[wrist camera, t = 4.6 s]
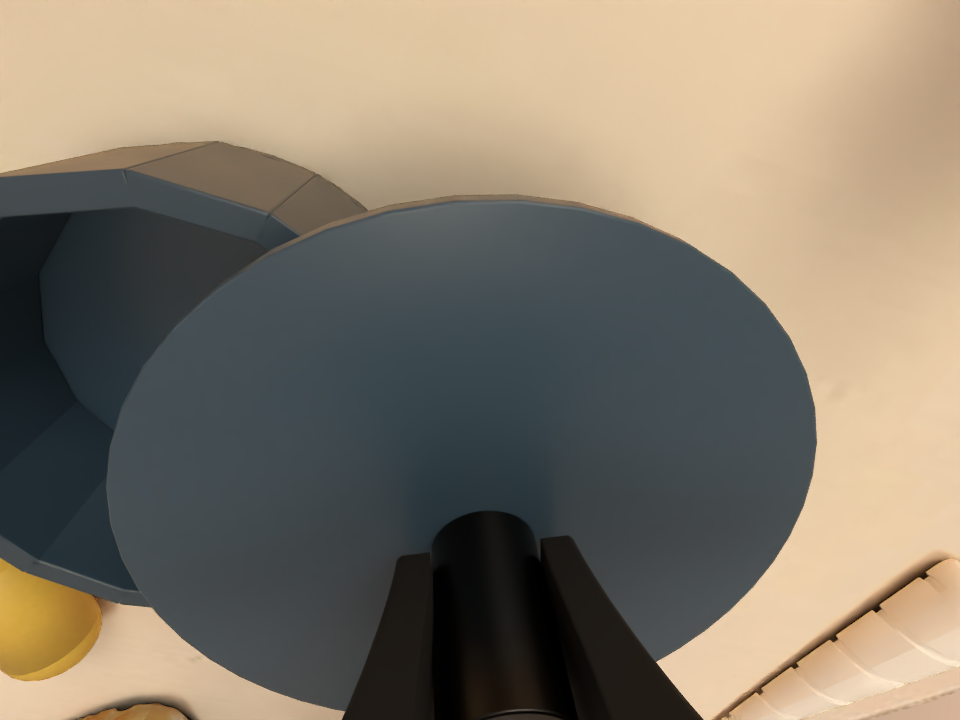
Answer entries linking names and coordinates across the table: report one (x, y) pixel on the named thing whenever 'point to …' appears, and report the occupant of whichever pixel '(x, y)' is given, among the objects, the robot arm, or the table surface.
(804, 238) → the table surface
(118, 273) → the pot
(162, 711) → the pastry
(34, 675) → the yellow rounded capsule
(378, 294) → the pot lid
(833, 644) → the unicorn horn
